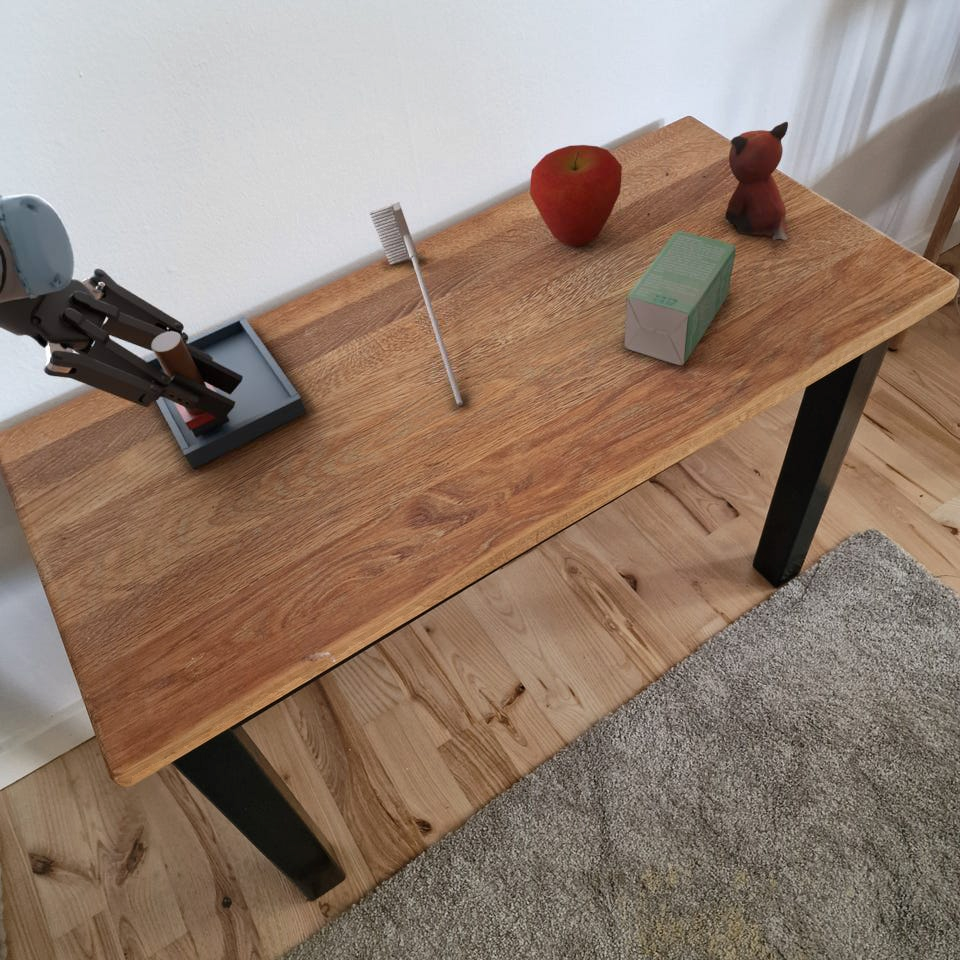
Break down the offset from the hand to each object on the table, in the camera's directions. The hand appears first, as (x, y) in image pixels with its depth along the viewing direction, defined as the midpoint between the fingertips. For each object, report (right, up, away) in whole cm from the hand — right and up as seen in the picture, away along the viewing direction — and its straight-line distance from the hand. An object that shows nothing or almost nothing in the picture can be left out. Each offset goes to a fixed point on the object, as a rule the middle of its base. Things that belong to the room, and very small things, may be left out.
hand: (232, 397), depth 87 cm
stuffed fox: (+61, +23, +17) cm, 67 cm away
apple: (+39, +22, +19) cm, 49 cm away
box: (+49, +9, +8) cm, 50 cm away
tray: (-4, +1, +8) cm, 9 cm away
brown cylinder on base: (-5, -1, +4) cm, 7 cm away
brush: (+20, +10, +12) cm, 25 cm away
